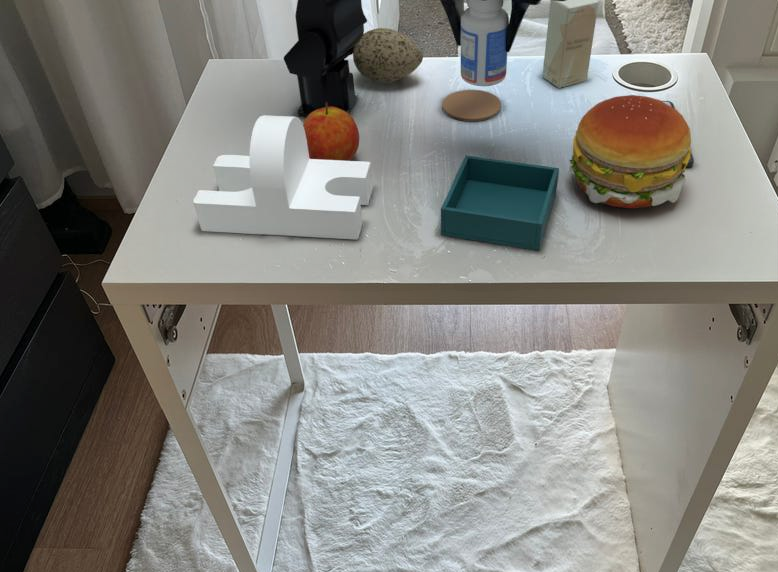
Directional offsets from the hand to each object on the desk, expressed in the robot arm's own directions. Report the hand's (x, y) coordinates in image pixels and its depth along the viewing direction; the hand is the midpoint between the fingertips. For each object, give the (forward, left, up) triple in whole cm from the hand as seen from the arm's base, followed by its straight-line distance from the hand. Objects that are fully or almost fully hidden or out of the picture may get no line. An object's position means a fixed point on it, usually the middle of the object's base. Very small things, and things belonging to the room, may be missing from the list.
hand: (483, 47), depth 88 cm
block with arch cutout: (-18, -19, -13) cm, 29 cm away
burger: (+19, -4, -13) cm, 23 cm away
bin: (+6, -14, -13) cm, 19 cm away
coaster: (-3, +9, -13) cm, 16 cm away
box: (+8, +20, -13) cm, 25 cm away
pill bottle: (0, 0, -4) cm, 4 cm away
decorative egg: (-22, +14, -9) cm, 27 cm away
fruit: (-17, -8, -13) cm, 23 cm away
